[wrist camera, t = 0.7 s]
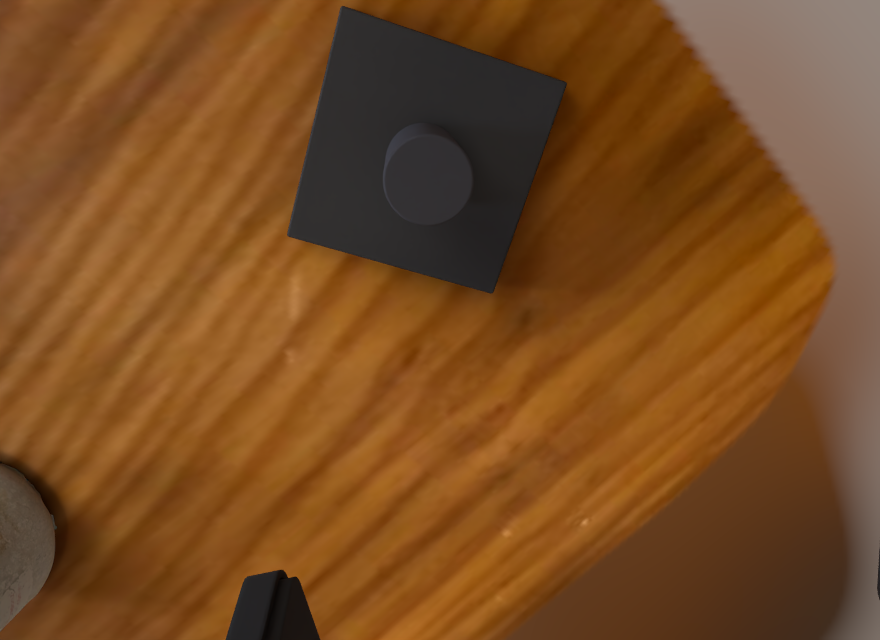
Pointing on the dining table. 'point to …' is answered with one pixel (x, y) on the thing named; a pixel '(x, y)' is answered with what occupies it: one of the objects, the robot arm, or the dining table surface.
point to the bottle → (22, 543)
